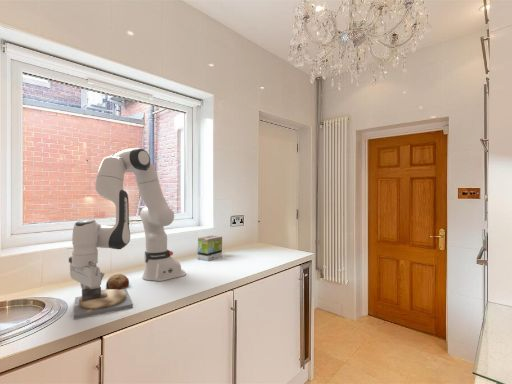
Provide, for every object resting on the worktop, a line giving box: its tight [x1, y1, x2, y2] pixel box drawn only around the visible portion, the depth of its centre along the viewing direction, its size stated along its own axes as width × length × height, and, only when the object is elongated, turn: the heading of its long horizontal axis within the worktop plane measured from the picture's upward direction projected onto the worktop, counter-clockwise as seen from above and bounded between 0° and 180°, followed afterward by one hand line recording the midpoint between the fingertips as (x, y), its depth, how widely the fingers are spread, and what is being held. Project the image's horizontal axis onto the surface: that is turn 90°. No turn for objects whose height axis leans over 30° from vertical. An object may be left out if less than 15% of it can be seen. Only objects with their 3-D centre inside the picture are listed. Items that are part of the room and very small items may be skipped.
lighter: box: [89, 271, 105, 288], centre depth 133 cm, size 7×2×8 cm, turn 137°
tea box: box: [196, 235, 223, 262], centre depth 195 cm, size 15×10×15 cm, turn 148°
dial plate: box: [73, 288, 134, 320], centre depth 117 cm, size 20×20×2 cm
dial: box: [79, 285, 126, 309], centre depth 116 cm, size 17×17×6 cm
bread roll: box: [105, 273, 130, 290], centre depth 137 cm, size 10×10×8 cm
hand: (85, 293), depth 114 cm, fingers closed
